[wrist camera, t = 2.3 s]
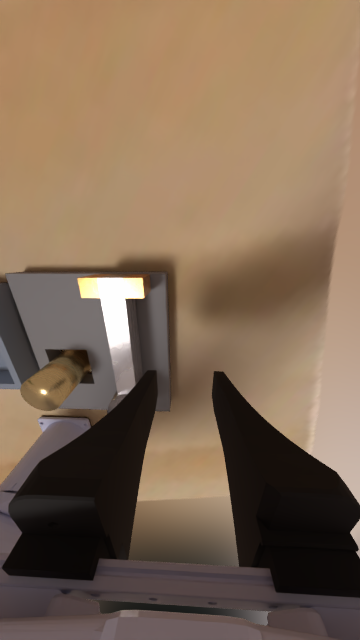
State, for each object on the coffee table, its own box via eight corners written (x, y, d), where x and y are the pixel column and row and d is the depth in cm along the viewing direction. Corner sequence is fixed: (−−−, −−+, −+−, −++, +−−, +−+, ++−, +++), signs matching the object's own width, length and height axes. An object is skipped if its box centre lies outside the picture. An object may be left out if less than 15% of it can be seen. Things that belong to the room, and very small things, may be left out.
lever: (158, 402, 22) (153, 428, 18) (119, 401, 22) (107, 427, 19) (150, 274, 16) (140, 278, 13) (96, 274, 16) (73, 278, 13)
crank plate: (171, 399, 24) (169, 411, 23) (64, 396, 25) (54, 408, 23) (167, 271, 18) (165, 273, 16) (23, 271, 19) (4, 273, 17)
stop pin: (97, 370, 23) (66, 411, 17) (69, 369, 23) (28, 410, 17) (92, 344, 22) (55, 379, 16) (62, 344, 22) (14, 378, 16)
